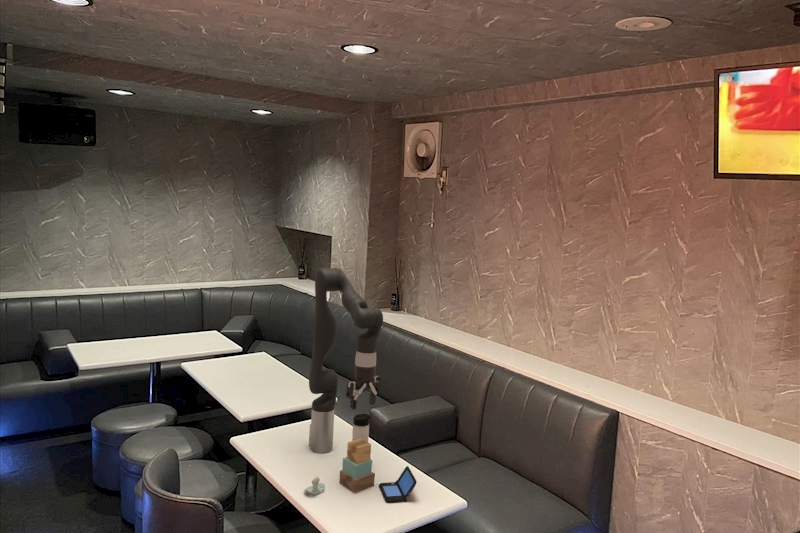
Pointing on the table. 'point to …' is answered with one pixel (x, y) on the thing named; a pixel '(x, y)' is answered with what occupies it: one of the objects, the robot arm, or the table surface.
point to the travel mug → (361, 427)
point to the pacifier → (315, 487)
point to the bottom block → (357, 482)
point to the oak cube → (359, 451)
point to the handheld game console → (399, 487)
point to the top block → (356, 468)
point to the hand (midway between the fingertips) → (362, 406)
